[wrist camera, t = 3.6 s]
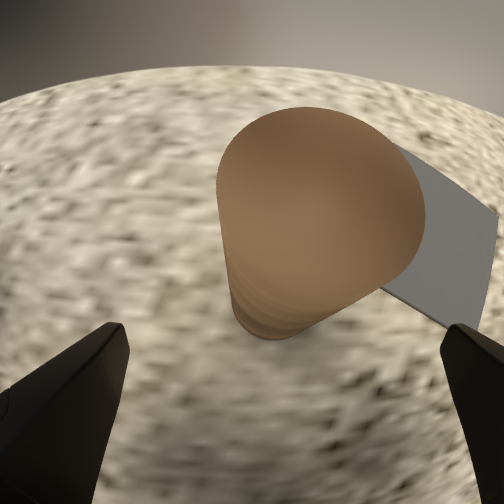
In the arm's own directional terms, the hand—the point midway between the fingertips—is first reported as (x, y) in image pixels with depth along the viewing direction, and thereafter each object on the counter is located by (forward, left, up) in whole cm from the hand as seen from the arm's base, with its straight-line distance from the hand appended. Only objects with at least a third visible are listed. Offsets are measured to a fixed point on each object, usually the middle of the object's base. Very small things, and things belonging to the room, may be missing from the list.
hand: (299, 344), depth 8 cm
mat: (+13, -7, -10) cm, 18 cm away
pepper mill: (+3, +1, -10) cm, 11 cm away
